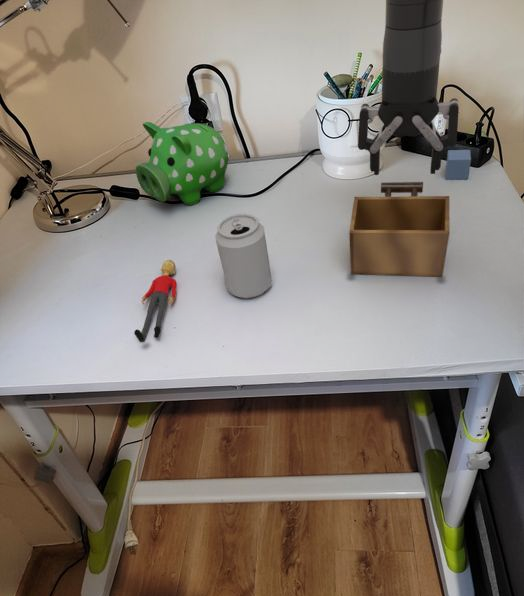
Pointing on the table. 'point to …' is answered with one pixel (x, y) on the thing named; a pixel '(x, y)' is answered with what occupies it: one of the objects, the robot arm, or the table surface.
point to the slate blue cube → (458, 164)
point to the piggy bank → (183, 162)
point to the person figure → (158, 299)
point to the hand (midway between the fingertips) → (404, 172)
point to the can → (244, 255)
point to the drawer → (399, 232)
